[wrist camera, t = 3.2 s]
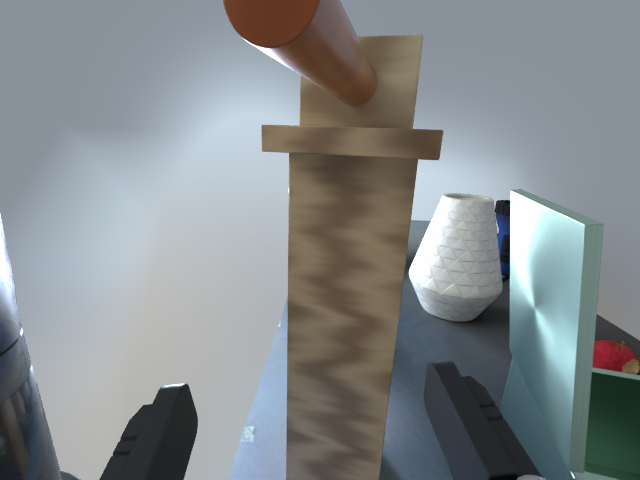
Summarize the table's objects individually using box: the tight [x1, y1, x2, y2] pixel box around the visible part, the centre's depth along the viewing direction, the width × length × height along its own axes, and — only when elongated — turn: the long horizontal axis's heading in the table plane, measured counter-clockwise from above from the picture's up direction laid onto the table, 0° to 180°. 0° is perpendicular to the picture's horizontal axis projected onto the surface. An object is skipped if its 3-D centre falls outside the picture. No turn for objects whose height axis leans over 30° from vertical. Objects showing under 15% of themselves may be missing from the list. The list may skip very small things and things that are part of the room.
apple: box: [592, 340, 640, 375], centre depth 47 cm, size 8×8×6 cm
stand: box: [262, 125, 443, 480], centre depth 28 cm, size 10×12×33 cm
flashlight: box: [495, 200, 510, 281], centre depth 79 cm, size 8×8×20 cm
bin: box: [499, 357, 640, 480], centre depth 28 cm, size 16×14×12 cm
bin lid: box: [509, 189, 604, 473], centre depth 25 cm, size 17×14×1 cm
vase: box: [409, 193, 503, 322], centre depth 64 cm, size 17×17×23 cm
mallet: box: [223, 0, 423, 129], centre depth 16 cm, size 7×19×5 cm, turn 165°
